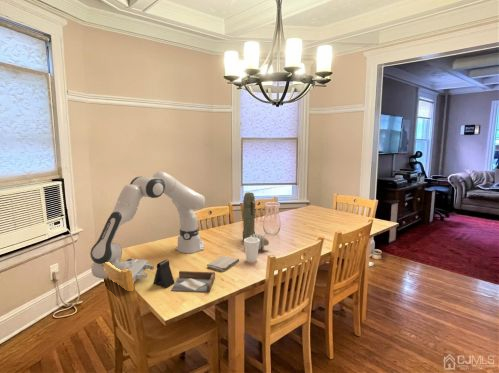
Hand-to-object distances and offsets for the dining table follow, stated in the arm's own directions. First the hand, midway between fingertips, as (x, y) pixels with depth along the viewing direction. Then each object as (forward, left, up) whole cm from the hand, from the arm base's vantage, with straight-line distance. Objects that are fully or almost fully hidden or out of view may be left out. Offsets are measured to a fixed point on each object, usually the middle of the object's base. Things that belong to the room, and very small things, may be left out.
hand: (150, 271), depth 162 cm
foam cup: (-34, +50, -7) cm, 61 cm away
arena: (0, +22, -6) cm, 23 cm away
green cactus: (-68, +46, -7) cm, 82 cm away
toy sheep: (-51, +52, -7) cm, 73 cm away
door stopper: (0, +7, -7) cm, 10 cm away
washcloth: (-26, +34, -7) cm, 43 cm away
